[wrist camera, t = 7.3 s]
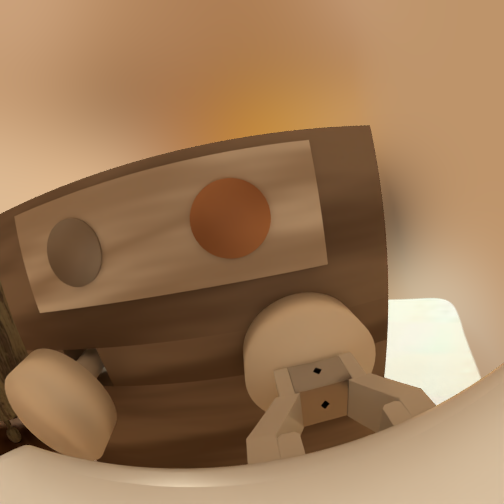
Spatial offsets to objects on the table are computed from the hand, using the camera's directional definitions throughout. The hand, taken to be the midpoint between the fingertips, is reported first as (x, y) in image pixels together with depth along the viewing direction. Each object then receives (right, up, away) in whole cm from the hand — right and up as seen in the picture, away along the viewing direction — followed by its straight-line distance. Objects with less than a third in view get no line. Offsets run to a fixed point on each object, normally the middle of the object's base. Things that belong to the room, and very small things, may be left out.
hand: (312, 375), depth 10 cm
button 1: (-10, -4, +2) cm, 11 cm away
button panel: (-4, -9, +6) cm, 11 cm away
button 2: (0, -2, +4) cm, 4 cm away
